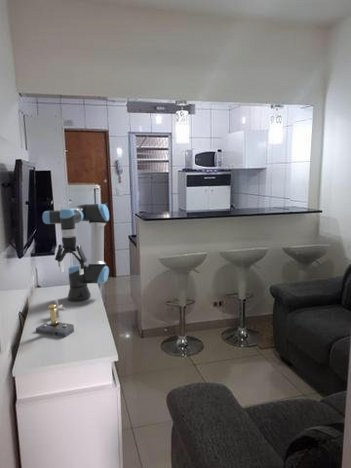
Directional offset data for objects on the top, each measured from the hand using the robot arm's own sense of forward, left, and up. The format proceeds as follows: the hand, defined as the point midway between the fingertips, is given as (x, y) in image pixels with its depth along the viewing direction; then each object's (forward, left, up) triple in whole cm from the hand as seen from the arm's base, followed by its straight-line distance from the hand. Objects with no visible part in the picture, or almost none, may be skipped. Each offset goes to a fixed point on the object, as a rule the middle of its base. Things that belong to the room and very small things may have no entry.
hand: (71, 273), depth 201 cm
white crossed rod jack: (-2, -15, -29) cm, 33 cm away
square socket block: (+15, -2, -29) cm, 32 cm away
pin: (+15, -2, -29) cm, 32 cm away
